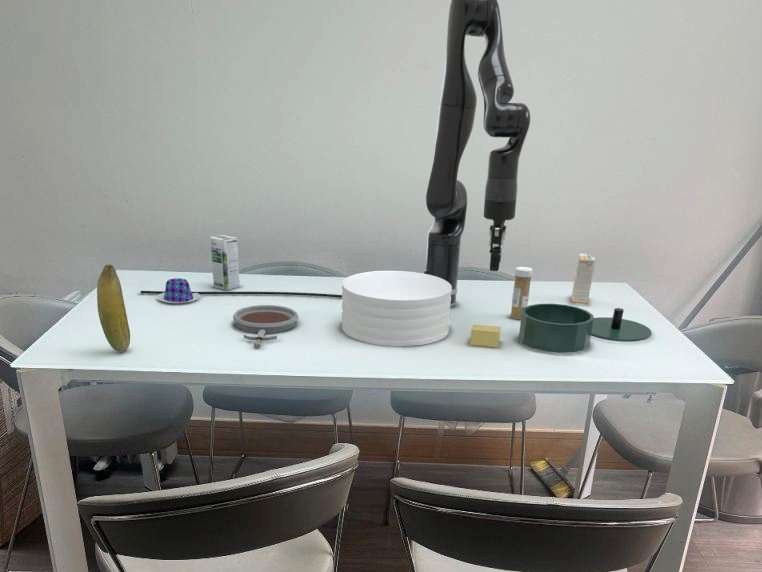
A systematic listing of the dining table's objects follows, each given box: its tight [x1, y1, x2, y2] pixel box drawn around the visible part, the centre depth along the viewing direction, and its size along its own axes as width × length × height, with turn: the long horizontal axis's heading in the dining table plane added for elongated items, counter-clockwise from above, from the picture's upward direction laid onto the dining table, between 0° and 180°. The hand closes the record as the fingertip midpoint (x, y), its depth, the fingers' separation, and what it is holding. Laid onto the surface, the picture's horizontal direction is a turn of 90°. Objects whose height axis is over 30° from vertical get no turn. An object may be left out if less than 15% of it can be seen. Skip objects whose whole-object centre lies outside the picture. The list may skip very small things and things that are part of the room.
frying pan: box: [232, 304, 299, 349], centre depth 195 cm, size 17×3×28 cm
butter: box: [469, 323, 502, 349], centre depth 191 cm, size 7×4×4 cm, turn 78°
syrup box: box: [209, 234, 241, 291], centre depth 225 cm, size 6×6×14 cm
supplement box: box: [570, 253, 596, 305], centre depth 225 cm, size 8×5×13 cm, turn 168°
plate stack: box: [341, 270, 452, 347], centre depth 197 cm, size 28×28×12 cm
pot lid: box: [591, 307, 652, 342], centre depth 202 cm, size 19×19×6 cm
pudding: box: [156, 277, 201, 304], centre depth 215 cm, size 12×12×5 cm
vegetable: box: [96, 263, 131, 353], centre depth 174 cm, size 6×6×20 cm
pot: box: [518, 303, 595, 354], centre depth 193 cm, size 18×18×8 cm
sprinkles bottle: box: [510, 266, 533, 320], centre depth 209 cm, size 5×5×13 cm
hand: (495, 266), depth 191 cm, fingers open, 8 cm apart
